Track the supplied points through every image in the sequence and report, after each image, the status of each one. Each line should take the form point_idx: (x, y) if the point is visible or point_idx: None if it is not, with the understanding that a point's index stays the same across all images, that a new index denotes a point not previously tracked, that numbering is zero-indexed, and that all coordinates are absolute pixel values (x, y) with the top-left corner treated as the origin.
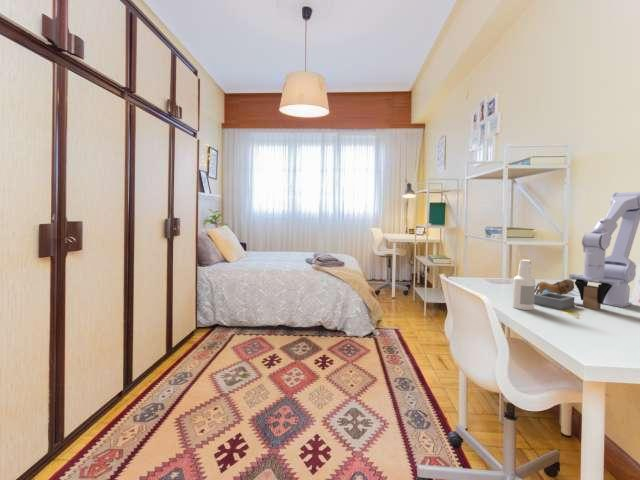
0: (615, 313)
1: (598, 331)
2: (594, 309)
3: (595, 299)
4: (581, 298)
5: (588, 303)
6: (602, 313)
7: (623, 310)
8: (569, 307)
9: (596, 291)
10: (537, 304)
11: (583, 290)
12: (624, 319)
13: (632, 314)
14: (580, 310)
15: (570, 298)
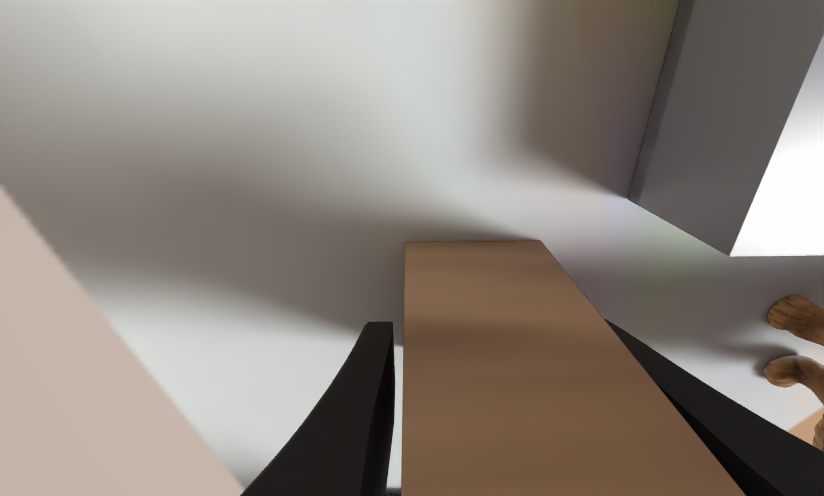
0: (235, 273)
1: None
2: (418, 242)
3: (420, 326)
4: (616, 330)
5: (497, 273)
6: (290, 139)
7: (274, 431)
8: (668, 51)
9: (415, 479)
10: None
11: None
12: (2, 56)
13: (159, 365)
14: (515, 30)
15: (805, 71)
